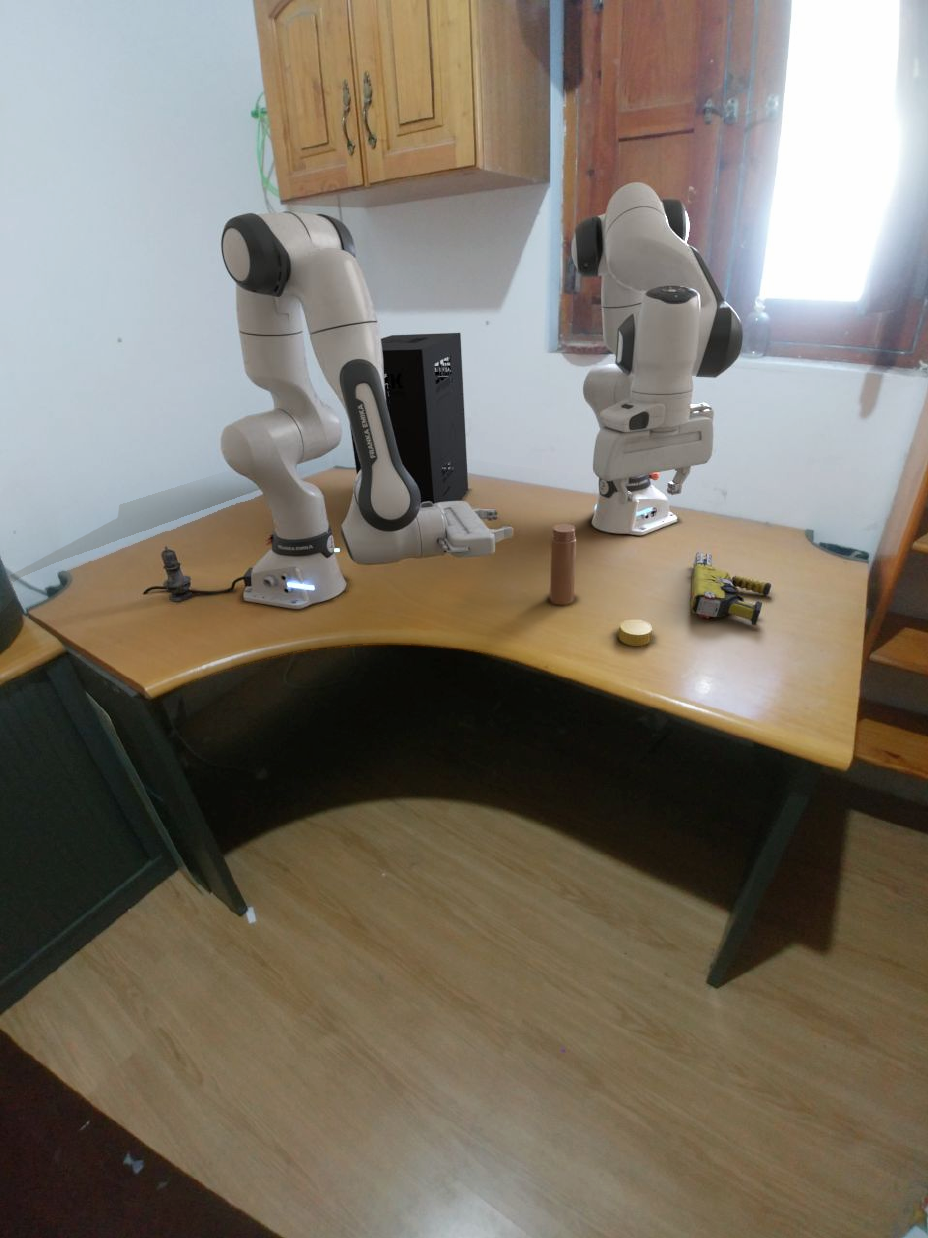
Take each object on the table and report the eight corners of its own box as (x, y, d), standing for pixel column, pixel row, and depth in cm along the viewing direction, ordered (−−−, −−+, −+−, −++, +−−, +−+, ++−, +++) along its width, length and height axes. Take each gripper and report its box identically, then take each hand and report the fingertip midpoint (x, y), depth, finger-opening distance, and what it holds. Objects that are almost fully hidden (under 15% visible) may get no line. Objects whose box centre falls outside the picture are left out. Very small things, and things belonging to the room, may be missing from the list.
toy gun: (769, 561, 128) (696, 549, 132) (782, 610, 108) (695, 594, 112) (763, 581, 130) (691, 569, 134) (774, 633, 110) (689, 616, 114)
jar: (575, 595, 126) (578, 524, 119) (571, 606, 122) (574, 533, 115) (552, 592, 128) (554, 522, 120) (547, 603, 124) (549, 531, 116)
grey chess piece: (185, 602, 132) (169, 552, 126) (162, 601, 134) (144, 551, 128) (200, 590, 137) (185, 541, 131) (177, 588, 139) (162, 540, 133)
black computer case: (436, 534, 159) (422, 349, 137) (364, 531, 164) (339, 351, 141) (468, 489, 191) (460, 332, 168) (407, 487, 195) (391, 335, 173)
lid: (623, 627, 114) (624, 616, 113) (654, 633, 112) (655, 622, 111) (614, 642, 110) (615, 631, 109) (646, 648, 108) (648, 637, 106)
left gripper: (443, 536, 100) (522, 525, 103) (420, 499, 118) (488, 490, 120) (446, 570, 104) (522, 558, 106) (423, 529, 121) (489, 520, 124)
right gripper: (700, 398, 96) (689, 482, 103) (590, 414, 90) (585, 502, 97) (729, 404, 91) (715, 493, 98) (614, 421, 85) (607, 515, 92)
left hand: (504, 522), depth 113 cm, fingers open, 8 cm apart
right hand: (649, 498), depth 98 cm, fingers open, 8 cm apart
